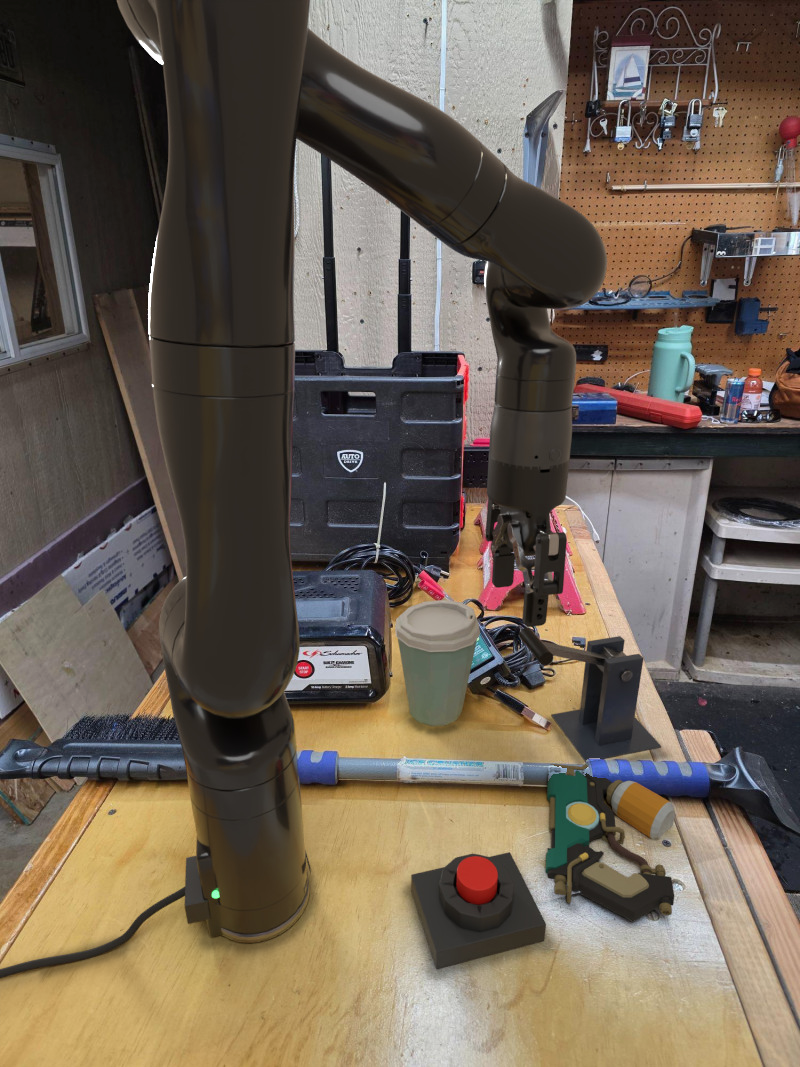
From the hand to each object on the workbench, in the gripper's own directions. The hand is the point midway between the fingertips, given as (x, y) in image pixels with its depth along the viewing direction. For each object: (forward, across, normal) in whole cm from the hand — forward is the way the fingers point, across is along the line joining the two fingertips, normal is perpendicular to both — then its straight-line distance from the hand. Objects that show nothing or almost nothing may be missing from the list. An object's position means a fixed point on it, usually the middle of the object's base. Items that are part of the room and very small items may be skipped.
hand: (517, 604), depth 71 cm
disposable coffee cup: (+23, -13, -5) cm, 26 cm away
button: (+19, +16, -9) cm, 27 cm away
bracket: (+22, -3, +14) cm, 27 cm away
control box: (+23, +16, -9) cm, 29 cm away
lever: (+10, -3, +9) cm, 14 cm away
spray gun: (+23, +12, +6) cm, 26 cm away
